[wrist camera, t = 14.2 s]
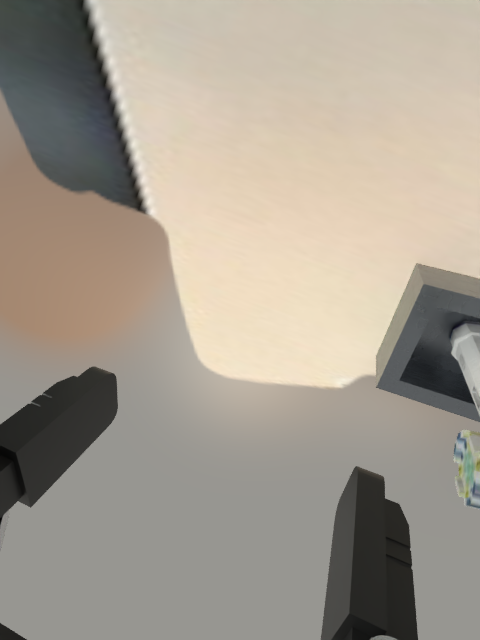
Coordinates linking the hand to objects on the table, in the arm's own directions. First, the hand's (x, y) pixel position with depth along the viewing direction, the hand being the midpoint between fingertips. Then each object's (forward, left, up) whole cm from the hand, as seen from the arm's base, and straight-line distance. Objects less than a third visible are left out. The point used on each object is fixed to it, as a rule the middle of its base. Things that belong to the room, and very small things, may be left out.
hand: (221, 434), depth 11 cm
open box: (+10, +18, -38) cm, 43 cm away
